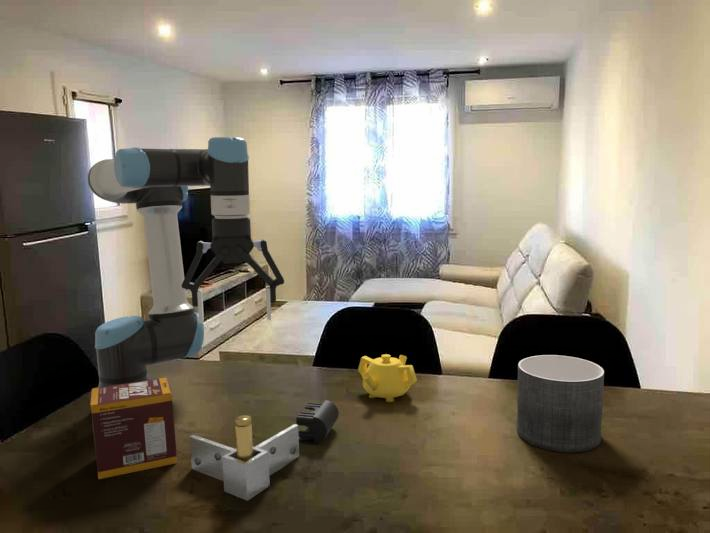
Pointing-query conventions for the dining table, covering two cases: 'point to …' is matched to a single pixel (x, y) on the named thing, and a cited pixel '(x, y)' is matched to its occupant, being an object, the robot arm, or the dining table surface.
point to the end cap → (316, 422)
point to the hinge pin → (244, 438)
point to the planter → (560, 403)
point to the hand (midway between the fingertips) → (235, 320)
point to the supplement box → (133, 427)
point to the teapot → (386, 376)
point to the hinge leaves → (249, 474)
